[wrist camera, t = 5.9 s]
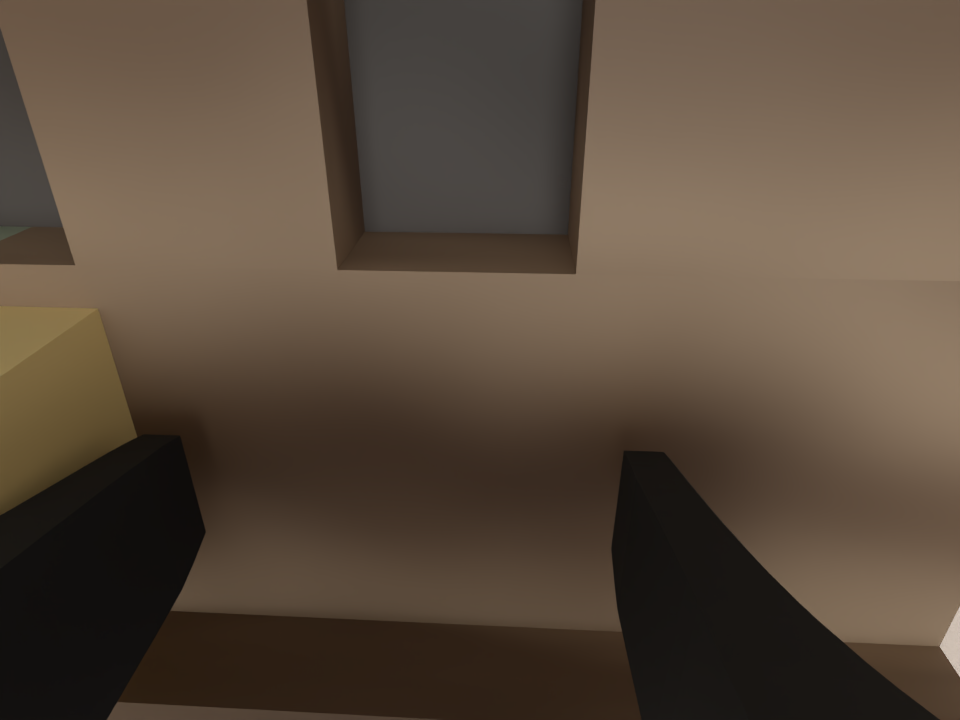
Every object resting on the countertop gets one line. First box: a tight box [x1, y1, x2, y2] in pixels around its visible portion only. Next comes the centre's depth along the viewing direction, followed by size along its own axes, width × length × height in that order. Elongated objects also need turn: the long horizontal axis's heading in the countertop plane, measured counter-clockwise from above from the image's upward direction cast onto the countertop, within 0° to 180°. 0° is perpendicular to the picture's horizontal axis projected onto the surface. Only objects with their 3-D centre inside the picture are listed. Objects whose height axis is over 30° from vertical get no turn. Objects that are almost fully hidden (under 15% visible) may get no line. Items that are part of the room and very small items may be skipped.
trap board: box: [0, 0, 960, 720], centre depth 10 cm, size 16×23×5 cm
